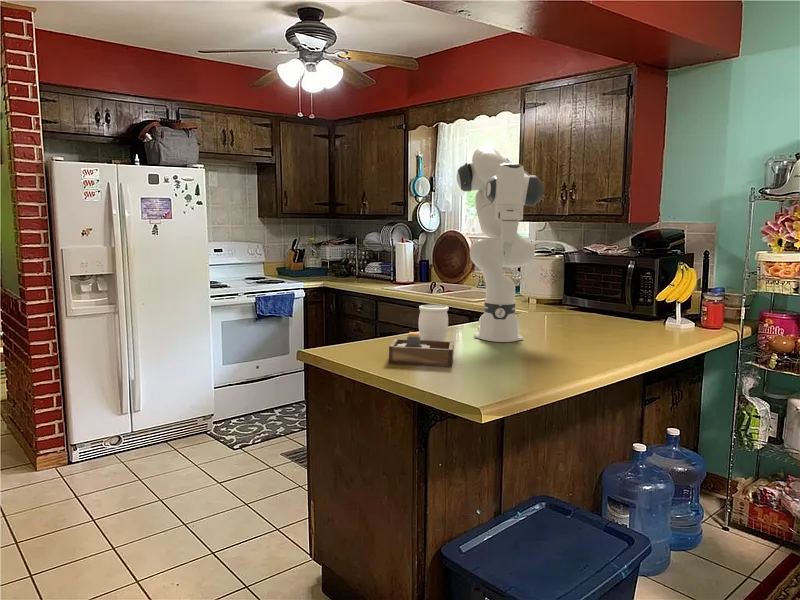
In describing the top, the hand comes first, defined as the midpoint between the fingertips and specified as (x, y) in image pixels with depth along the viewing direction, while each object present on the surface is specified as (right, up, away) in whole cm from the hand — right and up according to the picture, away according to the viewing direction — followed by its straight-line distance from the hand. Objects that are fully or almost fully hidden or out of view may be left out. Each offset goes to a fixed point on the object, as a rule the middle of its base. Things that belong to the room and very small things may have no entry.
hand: (506, 257), depth 196 cm
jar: (-23, -31, +22) cm, 44 cm away
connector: (-30, -32, +2) cm, 44 cm away
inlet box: (-27, -34, +2) cm, 43 cm away
